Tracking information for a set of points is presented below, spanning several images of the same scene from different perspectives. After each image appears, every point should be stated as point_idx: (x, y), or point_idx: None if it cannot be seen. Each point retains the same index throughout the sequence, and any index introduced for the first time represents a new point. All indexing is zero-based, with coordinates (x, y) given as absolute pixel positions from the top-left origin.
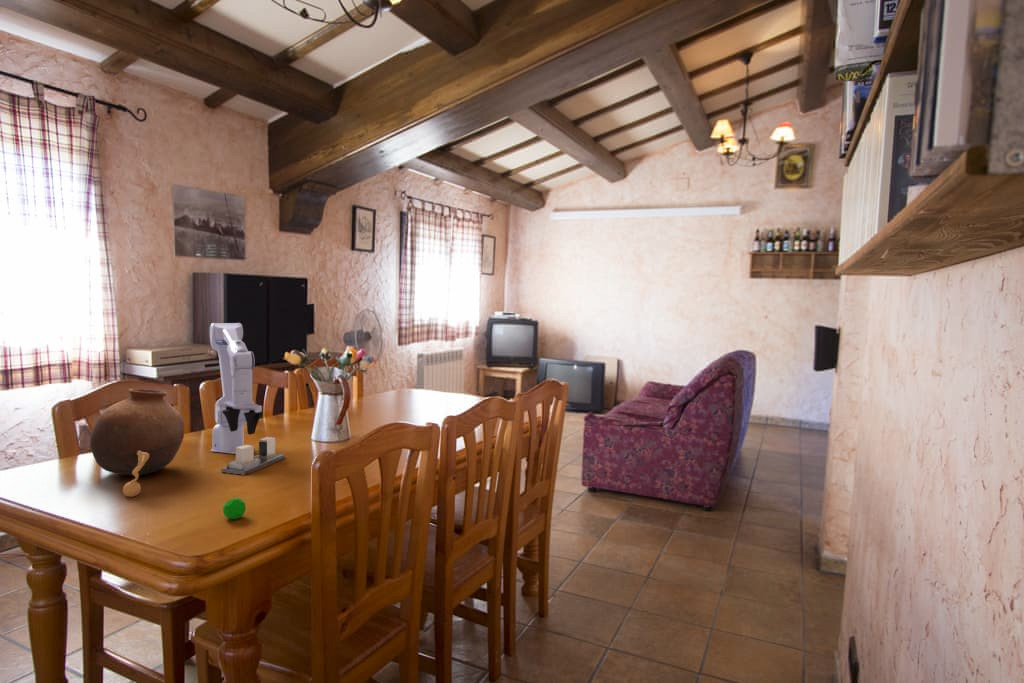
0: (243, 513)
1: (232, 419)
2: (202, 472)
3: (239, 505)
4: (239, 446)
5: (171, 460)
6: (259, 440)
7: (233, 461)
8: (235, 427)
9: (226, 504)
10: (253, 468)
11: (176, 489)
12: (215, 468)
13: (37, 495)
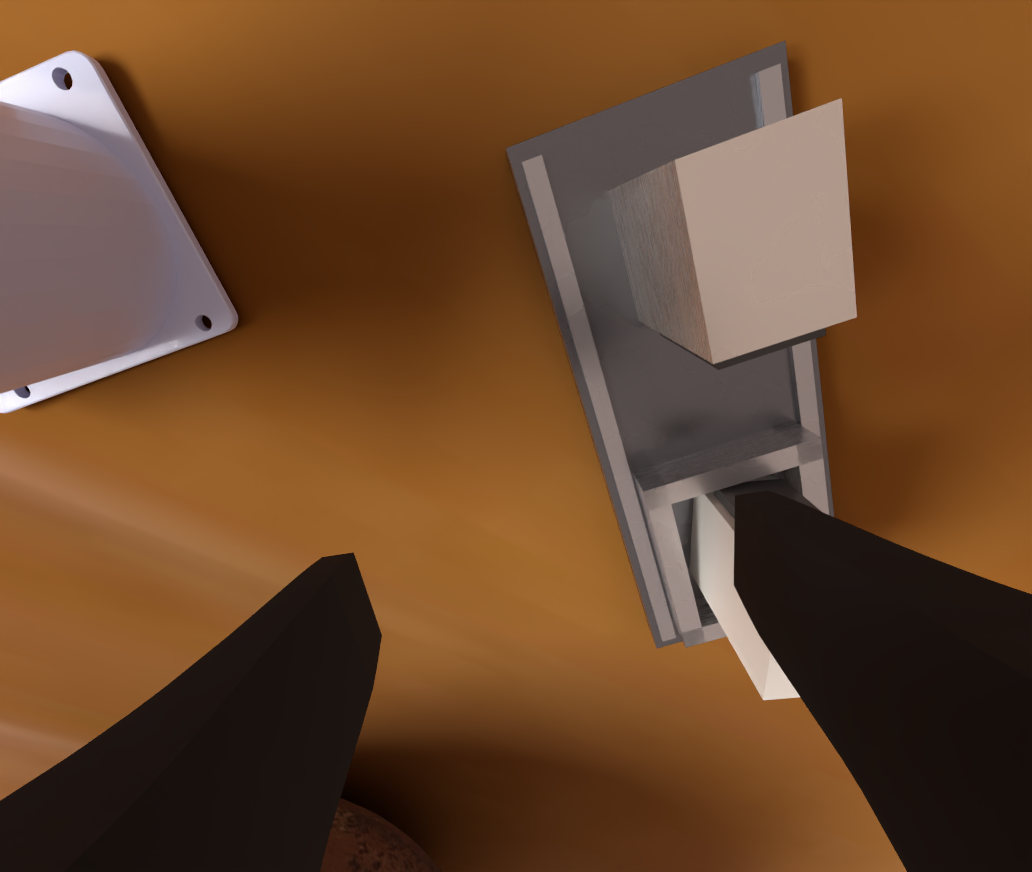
0: None
1: (284, 845)
2: (551, 684)
3: None
4: (771, 667)
5: (410, 850)
6: (715, 357)
7: (679, 599)
8: (345, 620)
9: None
10: (832, 516)
11: (703, 840)
12: (535, 608)
13: None
